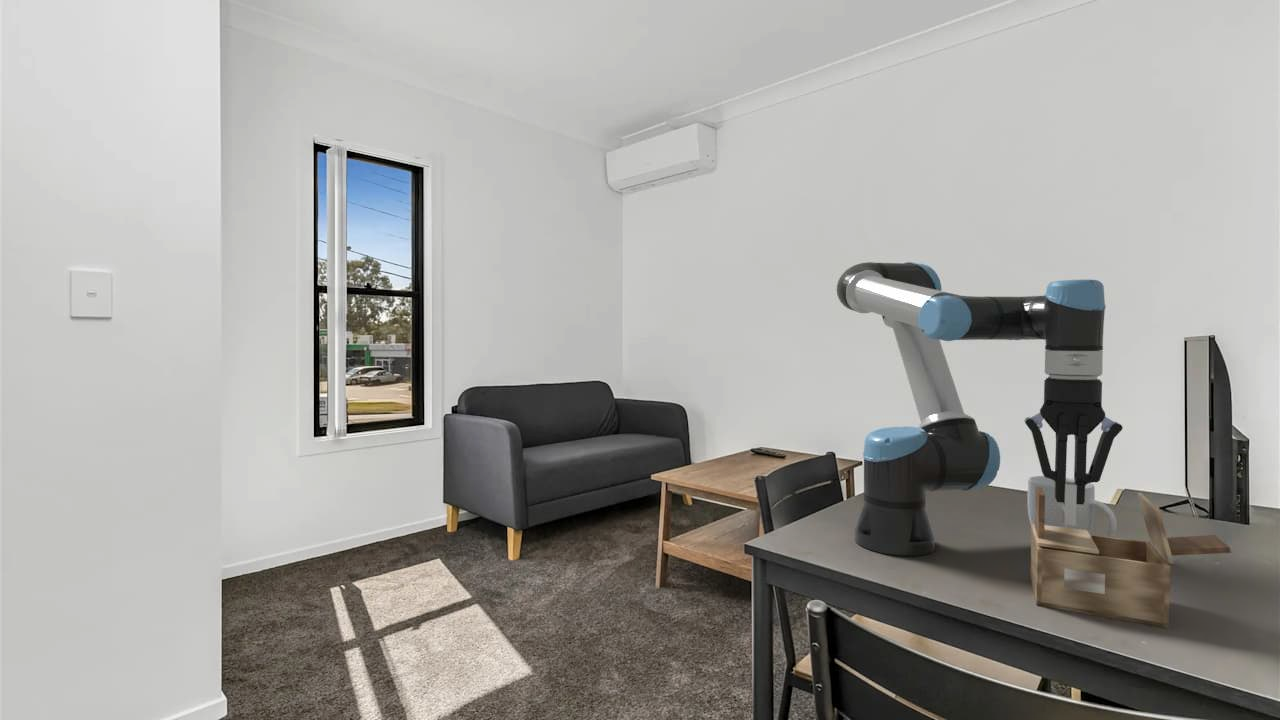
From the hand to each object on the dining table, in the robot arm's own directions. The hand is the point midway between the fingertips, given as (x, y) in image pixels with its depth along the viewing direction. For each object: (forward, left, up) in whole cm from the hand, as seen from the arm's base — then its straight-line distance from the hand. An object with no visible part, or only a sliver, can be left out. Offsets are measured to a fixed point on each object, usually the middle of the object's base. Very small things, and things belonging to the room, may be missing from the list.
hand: (1068, 522), depth 98 cm
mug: (+3, +27, -12) cm, 30 cm away
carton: (+3, 0, -12) cm, 12 cm away
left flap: (-1, 0, -3) cm, 3 cm away
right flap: (+10, 0, +1) cm, 11 cm away
